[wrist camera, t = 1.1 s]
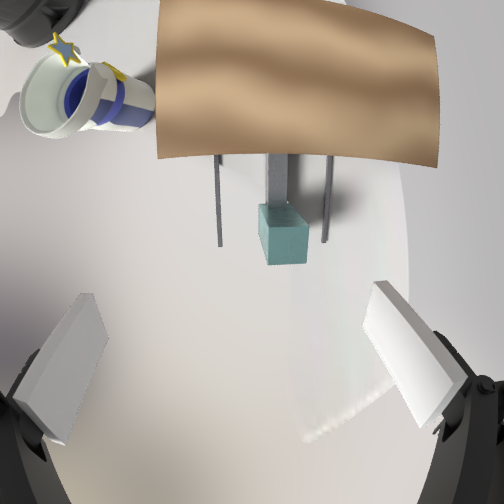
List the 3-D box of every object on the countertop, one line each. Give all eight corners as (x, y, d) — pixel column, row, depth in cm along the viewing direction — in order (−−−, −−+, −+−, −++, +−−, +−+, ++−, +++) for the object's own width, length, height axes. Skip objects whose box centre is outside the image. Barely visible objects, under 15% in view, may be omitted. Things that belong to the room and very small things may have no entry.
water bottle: (129, 66, 28) (17, 9, 6) (170, 98, 31) (77, 50, 9) (93, 111, 30) (-40, 112, 8) (131, 143, 33) (7, 173, 11)
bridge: (192, 60, 29) (160, -1, 12) (348, 68, 31) (433, 36, 13) (193, 146, 34) (157, 159, 17) (348, 147, 36) (437, 168, 18)
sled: (222, 53, 29) (220, 27, 20) (323, 58, 30) (352, 39, 21) (225, 235, 40) (225, 267, 31) (319, 232, 41) (343, 261, 32)
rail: (213, 54, 29) (212, 53, 29) (330, 60, 30) (331, 59, 30) (218, 245, 41) (218, 247, 40) (324, 241, 42) (325, 242, 41)
